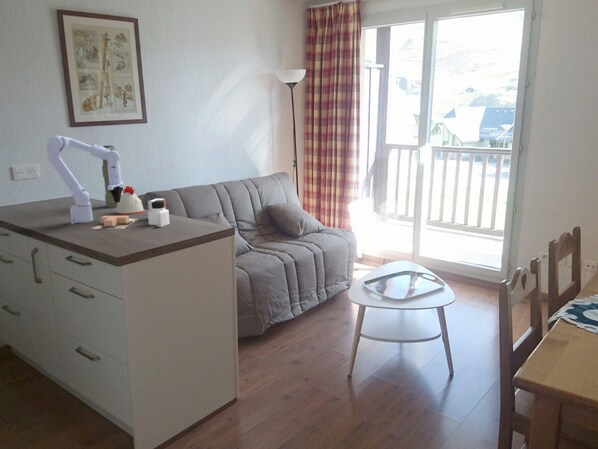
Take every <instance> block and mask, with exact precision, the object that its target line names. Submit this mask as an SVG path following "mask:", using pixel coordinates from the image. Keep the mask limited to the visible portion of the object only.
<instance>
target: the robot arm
mask: <svg viewBox="0 0 598 449" xmlns="http://www.w3.org/2000/svg"><path fill="white" fill-rule="evenodd" d="M70 147H71V148H72V147H73V148H76V149H79V150H82V151H86V152H88V153H89V154H90V156H92V157H95V158H98V159H101V160H102V159H103V160H105V159H106V160H107V161H108V175H109V186H108V190H109V191H110V192H111V194H112V196H113V198H114V201H115V202H120V198H121V195H122V193H123V190H124V187H123V186H125V183H124V181H122V174H121V173H122V171H121V165H120V161H119V160H120V153H119V152H118V151H117V150H116V149H115V150H116V151H115V150H110V148H108V149H107V148H104V146H102V145H101V144H100V143H98V144H93V145H91V144H87V143H85V142H83V141H80V140H78V139H74V138H72V137H69V136H62V135H60V134H57V135H51V136H50V137H49V139H48V140H47V143H46V149H47V152H46V153H47V159H48V161H49V162H50V163H51V165H52V167H54V169H55V171H56V172H57V173H58V175H59V177H60V178H62V180H63V182H64V183H65V184H66V186H67V187H68V189H69V190H70V192H71V193H70V194H72V197H73V200H74V203H75V205H71V206H70V210H69V213H70V221H71V223H70V225H74V224H76V223H89V222H93V221H94V216H93V207H92V203H91V202H90V200H91V198H92V196H91V194H90V192H89V191H88V190H85V188H84V187H83V186H82V185H81V184H80V183H79V181H78V180H77V178H76V177H75V176H74V175H73V173H72V172H71V170H70V169H69V167H68V166H67V164H66V163H65V162H64V160H63V159H62V158H61V154H62V151H63V150H64V148H70ZM103 160H102V161H103Z"/></svg>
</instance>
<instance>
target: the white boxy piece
mask: <svg viewBox="0 0 598 449" xmlns="http://www.w3.org/2000/svg"><path fill="white" fill-rule="evenodd" d="M155 200H162V201H164V206H165V209H164V210H167V205H166V198H154V199H151V200H147V204H148V205H147V206H148V212H149V211H152V208H151V202H152V201H155Z"/></svg>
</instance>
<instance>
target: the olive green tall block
mask: <svg viewBox="0 0 598 449" xmlns="http://www.w3.org/2000/svg"><path fill="white" fill-rule="evenodd" d="M103 147H104V148H107V149H108V148H110V150H115V151H116V152H117V150H116V148H115V146H113V145H103ZM101 160H102V165H101V170H102V171H101V172H102V177H103V180H104V189H105V193H104V194H105V195H104V199H105V200H104V201H105V205H106V208H108V209H113V208H116V209H117V203H118V202H115V201H114V198H113V196H112V194H111V192H110V191H109V190H108V186H109V175H108V161H107V160H106V159H105V160H103V159H101ZM122 195H123V194H121V196H122Z"/></svg>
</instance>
